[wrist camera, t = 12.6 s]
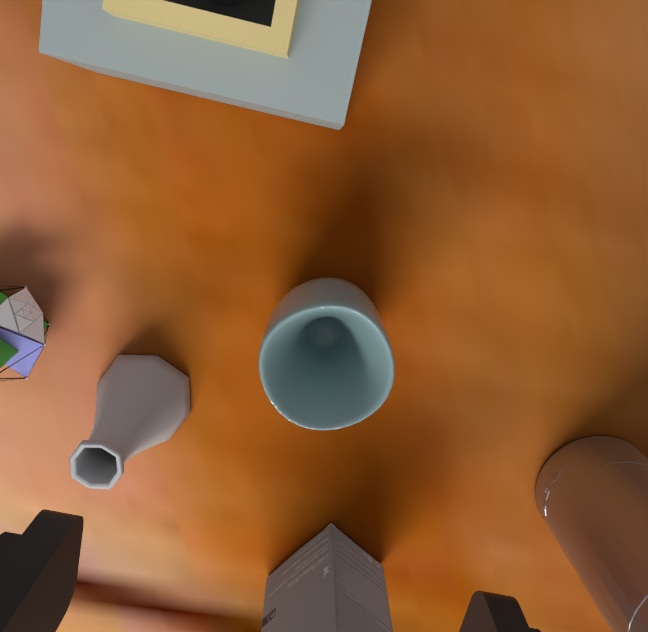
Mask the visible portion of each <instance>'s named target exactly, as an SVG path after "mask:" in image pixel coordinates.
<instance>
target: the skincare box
mask: <svg viewBox="0 0 648 632" xmlns="http://www.w3.org/2000/svg"><path fill="white" fill-rule="evenodd" d="M261 632H393V629H392V622H391V615H390V609H389V602H388V596H387V589H386V583H385V577H384V570H383V566H382V565H381V564H380V563H379V562H377V561H376V560H375V559H374V558H373V557H371V556H370V555H369V554H368V553H366V552H365V551H364V550H363V549H361V548H360V547H359V546H358V545H356V544H355V543H354V542H353V541H352V540H350V539H349V538H348V537H347V536H346V535H344V534H343V533H342V532H341V531H340V530H339V529H338V528H336V527H335V526H334V525H333V524H332V523H330V524H329V525H328V526H327V527H326V528H325V529H324V530H323V531H322V532H320V533H319V534H318V535H316V536H315V537H314V538H313V539H311V540H310V541H309V542H308V543H306V544H305V545H304V546H303V547H302V548H300V549H299V550H298V551H297V552H296V553H294V554H293V555H292V556H291V557H290V558H289V559H287V560H286V561H285V562H284V563H283V564H282V565H281V566H279V567H278V568H277V569H276V570H275V571H274V572H273V573H272V574H271V575H270V576H269V577H268V578H267V582H266V591H265V601H264V610H263V620H262V630H261Z"/></svg>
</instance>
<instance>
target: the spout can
mask: <svg viewBox="0 0 648 632" xmlns="http://www.w3.org/2000/svg"><path fill="white" fill-rule="evenodd" d="M205 1H207V2H209V3H212V4H215V5H221V6H231V5H237V4H240V3H242V2H244V1H247V0H205Z"/></svg>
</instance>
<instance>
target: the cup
mask: <svg viewBox="0 0 648 632" xmlns="http://www.w3.org/2000/svg"><path fill="white" fill-rule="evenodd" d="M258 365H259V373H260V378H261V381H262V385H263V388H264V391H265V392H266V394H267V396H268V398H269V400H270V402H271V403H272V404H273V406H274V407H275V408H276V409H277V411H278V412H279V413H280V414H282V415H283V416H284V417H285V418H286V419H287V420H289V421H291V422H292V423H294V424H296V425H298V426H301V427H304V428H308V429H313V430H334V429H339V428H343V427H348V426H350V425H353V424H355V423H358V422H360V421H362V420H364V419H365V418H367V417H369V416H370V415H372V414H373V413H374V412H375V411H376V410H377V409H378V408H380V407H381V406H382V404H383V403H384V401H385V400H386V399H387V397H388V396H389V393H390V391H391V388H392V386H393V381H394V374H395V363H394V354H393V350H392V346H391V342H390V339H389V336H388V333H387V330H386V328H385V326H384V323H383V321H382V319H381V316H380V314H379V312H378V310H377V308H376V307H375V305H374V304H373V303H372V301H371V300H370V298H369V297H368V296H367V295H366V294H365V293H364V292H363V291H362V290H361V289H360V288H359V287H357V286H356V285H354V284H353V283H351V282H349V281H346V280H343V279H340V278H331V277H326V278H317V279H313V280H309V281H306V282H304V283H302V284H300V285H297V286H296V287H294V288H293V289H292V290H290V291H289V292H287V293H286V294H285V295H284V296H283V297H282V298H281V299H280V300H279V302H278V303H277V305H276V306H275V308H274V310H273V311H272V313H271V315H270V317H269V319H268V322H267V325H266V328H265V331H264V334H263V337H262V341H261V344H260V348H259V361H258Z"/></svg>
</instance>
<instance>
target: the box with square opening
mask: <svg viewBox="0 0 648 632" xmlns="http://www.w3.org/2000/svg"><path fill="white" fill-rule="evenodd" d="M371 1H372V0H247V1H244V2H242V3H240V4H237V5H231V6H221V5H215V4H212V3H209V2H207V1H205V0H43V3H42V16H41V29H40V43H39V52H40V53H43V54H46V55H48V56H51V57H54V58H57V59H60V60H63V61H66V62H68V63H71V64H74V65H77V66H80V67H83V68H86V69H88V70H91V71H94V72H97V73H101V74H105V75H109V76H113V77H117V78H122V79H126V80H130V81H134V82H138V83H143V84H147V85H151V86H155V87H159V88H164V89H168V90H172V91H176V92H181V93H185V94H189V95H193V96H197V97H202V98H206V99H210V100H214V101H218V102H223V103H227V104H231V105H235V106H239V107H244V108H248V109H252V110H256V111H260V112H265V113H269V114H273V115H277V116H281V117H286V118H290V119H294V120H298V121H302V122H307V123H311V124H315V125H319V126H323V127H328V128H332V129H336V130H340V129H341V128H342V126H343V125H344V122H345V118H346V113H347V109H348V104H349V100H350V95H351V91H352V86H353V82H354V77H355V73H356V68H357V64H358V60H359V55H360V51H361V46H362V42H363V37H364V33H365V28H366V24H367V19H368V15H369V10H370V6H371Z"/></svg>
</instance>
